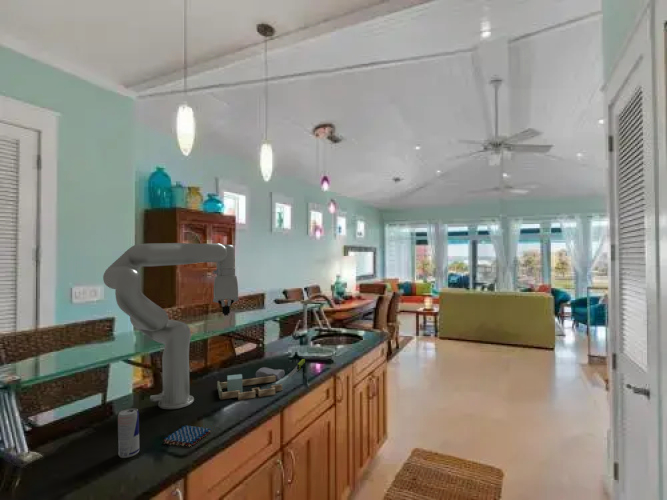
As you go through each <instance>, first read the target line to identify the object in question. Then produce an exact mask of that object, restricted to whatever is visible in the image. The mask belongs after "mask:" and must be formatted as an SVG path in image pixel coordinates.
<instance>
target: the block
mask: <svg viewBox="0 0 667 500" xmlns="http://www.w3.org/2000/svg"><path fill="white" fill-rule="evenodd" d="M226 377H227V378H226V379H227V381H226V382H227V388H226V389H227V391H226V392H230V391H237V390H239V391H240V393H242V392H244V391H243V387H244V386H242V380H243V374H242V373H238V374H231V375H228V374H227V376H226Z"/></svg>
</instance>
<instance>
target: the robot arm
mask: <svg viewBox="0 0 667 500" xmlns="http://www.w3.org/2000/svg"><path fill="white" fill-rule="evenodd" d="M202 263H216V269H215V270H212V274H214V275H216V276H214V281H213V282H214V283H213V298H212V302H213V303H217V304H220V306H221V307H222V308H221V309H222V315H224V317H226V316H229V314H230V313H231V310H230V309H231V306H232V304H233V303H236V302H238V301H239V300H240V299H239V284H238V277H237V275H235V246H234V245H233V244H222V243H191V242H190V243H188V242H171V243H170V242H165V243H162V242H161V243H160V242H159V243H157V242H155V243H154V242H153V243H140V244H139V243H137V244H134V245H132V246H131V247H129V248H128V249H127V250H126V251H124V253H122V254H121V255H120V256H119V257H118V258H117V259H115V261H114V262H112V263H111V265H109V266H108V268H106V269H105V271H104V273H103V275H102V276H103V277H102V278H103V280H102V281H103V283H104V284H105V286H106V287H108V288H109V289H113V290H115V292H114V293H115V300H116V301H115V302H116V304H117V306H118V308H119V309H120V310H121V311H122V312H123V313H124V314H126V315H127V316H129V319H130V320H129V321H130V322H131V324H132V326H133V327H134V328H135V329H136V330H138V331H139V332H141V333H142V334H144V335H145V336H147V337H148V338H150V339H151V340H153V341H155V342H156V343H158V344H163V345H164V349H163V352H162V359H161V361H162V391H161V393H158V394H154V395H150V397H149V401H150V402H152V403H157V402H158V407H159V408H160V409H163V410H177V409H181V408H186V407H188V406H190V405H192V404H193V402H194V401H195V397H194V396H193V395H191V394H190V343H191V337H192V333H191V328H190V326H189V325H188V324H186V323H185V322H183V321H180V320H173V319H169V315H168V313H167V311H165V310H164V308H162V307H161V306H159V305H158V304H157V303H155V302H153V300H151V299H150V298H148V297H147V296H146V295H145V294H144V293H143V292H142V290H141V284H142V283H141V282H142V277H141V274H140V272H139V270H140V269H141V268H142V267H163V266H177V265H178V266H180V265H183V266H184V265H190V264H202ZM226 300H227V302H226V304H225V301H226Z"/></svg>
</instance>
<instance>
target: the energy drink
mask: <svg viewBox="0 0 667 500" xmlns="http://www.w3.org/2000/svg"><path fill="white" fill-rule="evenodd" d="M117 438H118V440H117V441H118V443H117V446H118V449H117V452H118V456H119V458H121V459H126V458H132V457H133V456H136V455H138V453H139V452H140V413H139V409H138V408H132V407H131V408H127V409H123V410H120V411H118V415H117Z"/></svg>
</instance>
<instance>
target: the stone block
mask: <svg viewBox="0 0 667 500" xmlns="http://www.w3.org/2000/svg"><path fill="white" fill-rule="evenodd" d="M285 374H286V373H285V369H280V368H278V369H273V368H269V367H261V368H259V369H258V370H256V372H255V378H260V377H268V376H276V381H275V382H278V381H279V380H280V379H283V378H284V377H285Z"/></svg>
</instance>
